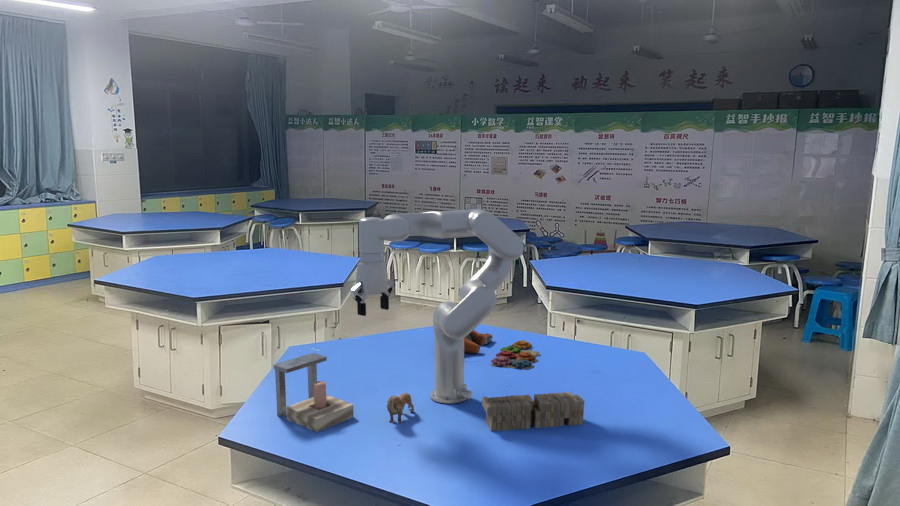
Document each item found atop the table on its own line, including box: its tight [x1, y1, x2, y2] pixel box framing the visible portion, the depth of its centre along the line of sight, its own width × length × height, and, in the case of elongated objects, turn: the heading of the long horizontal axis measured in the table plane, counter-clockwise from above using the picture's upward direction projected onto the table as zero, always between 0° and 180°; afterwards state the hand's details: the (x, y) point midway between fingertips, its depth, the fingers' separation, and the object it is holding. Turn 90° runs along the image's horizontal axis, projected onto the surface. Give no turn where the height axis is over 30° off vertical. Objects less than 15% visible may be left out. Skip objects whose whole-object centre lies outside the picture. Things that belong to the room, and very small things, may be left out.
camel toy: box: [464, 329, 493, 354], centre depth 264 cm, size 25×13×17 cm
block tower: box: [481, 391, 585, 432], centre depth 191 cm, size 8×8×29 cm
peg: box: [314, 380, 327, 410], centre depth 194 cm, size 4×4×11 cm
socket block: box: [286, 394, 355, 433], centre depth 195 cm, size 14×14×4 cm
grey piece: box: [273, 352, 328, 418], centre depth 199 cm, size 6×15×16 cm, turn 140°
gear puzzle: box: [490, 339, 541, 371], centre depth 254 cm, size 31×16×4 cm, turn 162°
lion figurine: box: [386, 392, 415, 423], centre depth 195 cm, size 15×5×9 cm, turn 165°
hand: (373, 312), depth 201 cm, fingers open, 9 cm apart
